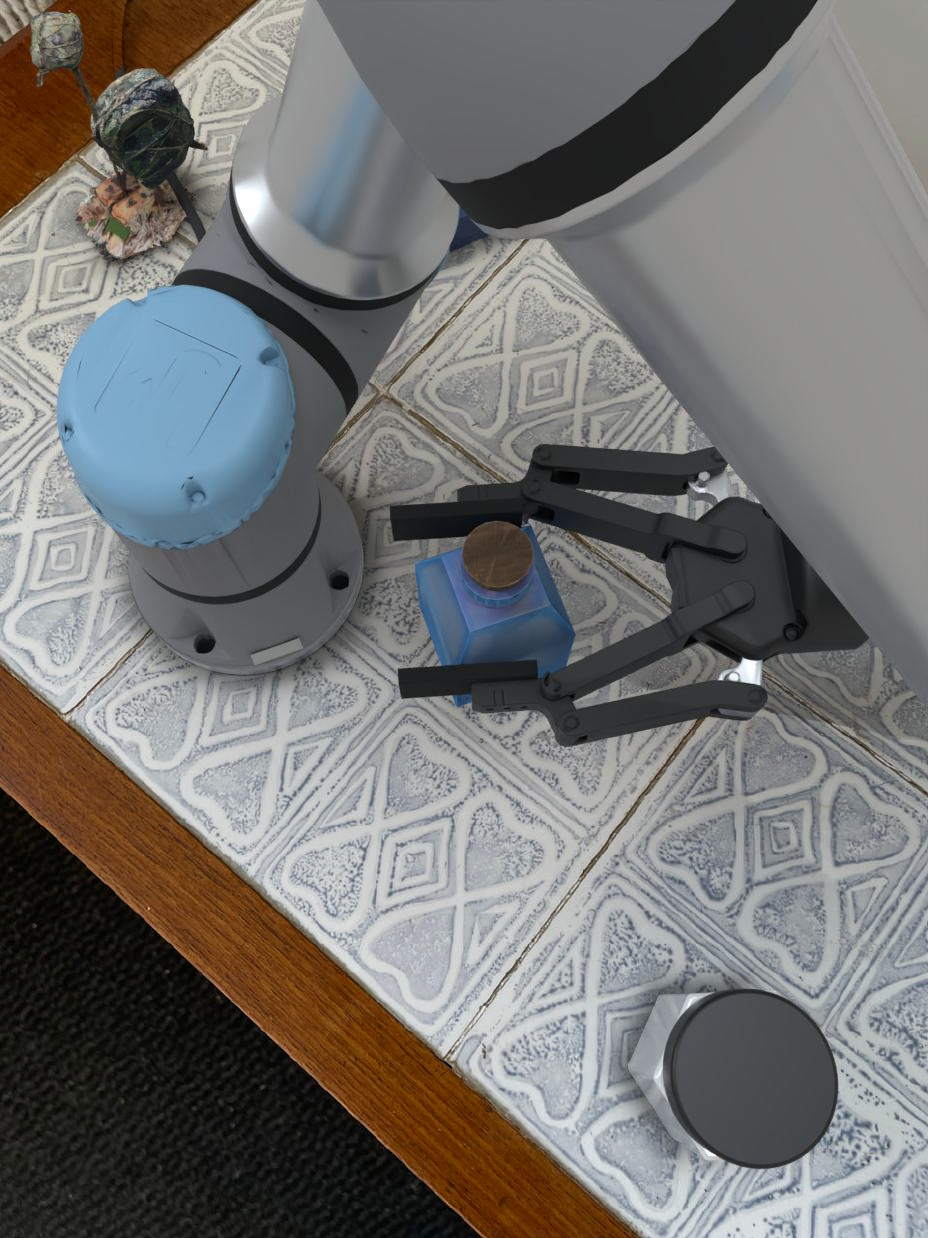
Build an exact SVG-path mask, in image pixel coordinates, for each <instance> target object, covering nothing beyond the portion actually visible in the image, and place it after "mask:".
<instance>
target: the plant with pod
mask: <svg viewBox="0 0 928 1238" xmlns="http://www.w3.org/2000/svg"><path fill="white" fill-rule="evenodd" d="M29 22H30V23H29V24H30V29H31V41H30V46H29V50H30V56H31V62H32V64H33V65H34V66H35V67H36V68H37V69H38V72H37V73H36V77H37V80H36V86H37V88H41V87H42V86H43V85H44V83H45V77H46V76H47V75H48V74H50V73H53V72H54V71H57V70H60V69H65V70H71V71H72V74H73V75H74V77H75V79H76V82H77V83H78V86H79V87H80V88H81V91H82V93H83V95H84V96H85V98H84V99H85V100H86V101H87V103H88V107H89V110H90V111H91V115H90V130H91V131H92V134H91V135H90V137H91V138H92V140H93V141H94V142H95V143H96V144H97V145H98V147H100V148H101V149H103V150H104V151H105V153H106V155H107V157H108V160H109V161H110V163H112V167H113V171H114V172H113V171H110V174H109V175H108V177H106V179H104V181H99V184H98V185H97V186H93V187H90V188H89V193H88V196H84V197H82V198H83V201H84V202H83V201H80V204H79V206H77V207H75V209H74V210H75V215H74V218H75V219H74V221H76V222H78V223H76V225H75V227H76V226H79V225H82V224H84V226H83V230H82V232H83V233H84V232H85V231H87V230H88V232H87V234H86V235H87V236H89V237H90V238H92V239H91V240H90V241H89V242H90V243H92V244H94V245H95V247H97V248H98V249H97V250H98V251H99V252H98V254H99V255H101V256H102V259H101V260H102V261H105V262H106V261H107V262H113V263H114V262H119V261H121V260H123V259H126V258H129V257H130V256H131V257H132V256H135V255H137V254H140V253H141V252H143V251H147V250H149V249H150V248H154V245H155V246H158V247H160V248H161V247H162V245H161V241H162V242H163V243H165V244H167V243H168V242H169V241H170V240H171V239H173V236H175V234H176V232H177V230H178V228H179V227H180V225H181V224H180V223H181V222H183V220H184V218H187V215H186V213H185V211H184V210H183V209H182V207H181V205H180V203H179V201H178V199H177V197H176V195H175V193H174V191H173V190H172V188H171V186H170V184H169V183H168V181H167V178H168V177H169V176H170V175H171V174H172V172H173V171H174V172H175V171H176V170H177V169H179V168H180V167H181V166H182V165H183V163H185V161H186V159H187V156H188V153H189V149H190V148H191V149H196V150H199V151H200V150H201V151H208V149H209V147H208V144H206V143H205V142H204V141H198V140H195V136H196V129H195V126H194V124H195V119H194V118H193V117H192V114H191V111H190V110H189V108H188V107H187V106H186V104H185V102H184V101H183V98H182V96H181V95H182V94H180V91H179V89H178V88H177V87H176V86H175V84H176V83H175V80H176V79H173V80H172V81H171V80H170V79H169V78H167V77H166V76H164V75H162V74H161V73H159V72H158V71H157V70H156V69H155V68H149V67H148V68H135V69H134V70H132V71H129V72H128V73H125V75H123V76H122V77H120V78H118V79H117V80H116V79H115V80H113V81H112V82H111V83H110V84H109V85H107V87H106V88H105V89H104V90H103V91H102V92H101V94H99V96H98V98H97V101H96V102H95V100H94V98H93V95H92V93H91V91H90V90H89V88H88V85H87V83H86V81H85V77H84V74H83V72H82V69H81V68H80V66H79V65H80V64H81V63H82V60H83V54H84V52H85V43H84V41H83V40H84V39H83V38H84V37H83V32H82V24H81V20H80V18H79V17H78V15H77V14H76V13H74V12H70V13H65V12H60V11H46V12H41V13H39V14H38V15H33V16H32V17H31V18H30V21H29ZM118 168H119V169H118ZM181 184H182V185H183V187H184V189H185V191H186V193H187V195H188V197H189V199H190V201H191V202H192V204H195V203H196V202H197V201H198V199H197V197H196V195H197V194H196V193H195V194H194V192H192V191H188V189H187V188H186V187H185V185H184V183H182V182H181Z"/></svg>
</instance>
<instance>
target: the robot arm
mask: <svg viewBox="0 0 928 1238" xmlns="http://www.w3.org/2000/svg"><path fill="white" fill-rule="evenodd" d="M836 1H837V0H305V1H304V5H303V10H302V13H301V18H300V22H299V25H298V30H297V33H296V37H295V41H294V45H293V49H292V53H291V57H290V62H289V65H288V69H287V74H286V78H285V81H284V84H283V89H282V92H280V93H279V94H277V95H275V96H273V97H272V98H270V99H269V100H267V101H266V102H265V103H264V104H262V105H261V106H260V107H259V108H258V109H257V110H256V111H255V112H254V114H252V116H251V118H249V119H248V121H247V123H246V124H245V126H244V128H243V130H242V132H241V133H240V136H239V139H238V141H237V144H236V146H235V150H234V154H233V159H232V162H231V163H232V164H231V169H230V174H229V179H228V183H227V188H226V193H225V197H224V200H223V203H222V205H221V208H220V209H219V212H218V213H217V215H216V216H215V219H214V220H213V222H212V224H211V225H210V226H209V228H208V230H206V229H205V226H204V224H203V222H202V219H201V217H200V215H199V213H198V212H197V210H196V208H195V206H194V203H192V202H191V201H190V199H189V197H188V195H187V193H186V191H185V189H184V187H185V186H184V187H183V185H184V184H183V183H182V182H181V180H180V178H179V177H178V175H177V174H176V172H175V170H174V171H173V172H172V174H171V175H170V176H169V177H168V178H167V181H168V183H169V184H170V186H171V188H172V190H173V191H174V193H175V195H176V197H177V199H178V201H179V203H180V205H181V207H182V209H183V210H184V211H185V213H186V215H187V216H186V218H187V220H188V222H189V224H190V226H191V228H192V230H193V232H194V234H195V237H196V240H197V242H198V244H197V245H196V247H195V248H194V250H193V251H192V252H191V254H190V255H189V257H188V258H187V260H186V261H185V263H184V264H183V266H182V267H181V268H180V270H179V271H178V272H177V274H176V275H175V277H174V279H173V281H172V282H171V284H170V285H166V286H157V287H154V288H151V289H148V290H147V291H146V294H147V295H146V296H145V297H143V298H141V299H137V300H134V301H133V300H132V299H131V298H129V297H128V298H127V297H126V298H124V299H122V300H120V301H119V302H117V303H115V304H114V305H112V306H111V307H110V308H108V309H107V310H105V311H104V312H103V313H102V314H100V316H98V317H97V318H96V319H95V320H94V321H93V322H92V323H91V324H90V325H89V326H88V327H87V329H86V330H84V332H83V333H82V335H81V336H80V337H79V339H78V340H77V341H76V343H75V345H74V347H73V349H72V350H71V353H70V354H69V355H68V358H67V360H66V362H65V364H64V367H63V370H62V374H61V377H60V381H59V384H58V388H57V398H56V424H57V430H58V436H59V439H60V443H61V446H62V450H63V452H64V455H65V458H66V460H67V463H68V464H69V465H70V467H71V470H72V471H73V474H74V476H75V480H76V483H77V485H78V487H79V489H80V491H81V493H82V495H83V496H84V499H85V500H86V501H87V503H88V504H89V506H90V507H91V508H92V510H93V511H94V512H95V513H96V514H97V515H98V516H99V518H100V519H101V520H102V521H103V522H105V523H106V524H107V526H108V527H110V528H111V530H112V531H113V533H114V534H115V535H116V536H117V537H118V538H119V540H120V541H121V542H122V544H123V545H124V546H125V548H126V549H127V550H128V554H127V555H128V557H127V571H128V581H129V586H130V591H131V594H132V598H133V600H134V602H135V605H136V608H137V609H138V611H139V614H140V616H141V617H142V619H143V620H144V622H145V623H146V624H147V626H148V627H149V628H150V629H151V631H152V632H153V633H154V635H155V636H157V638H158V639H159V641H160V642H162V643H163V644H164V646H166V647H167V648H168V650H171V652H173V653H174V654H176V655H177V656H178V657H180V658H182V659H183V660H185V661H186V662H189V663H191V664H193V665H195V666H196V667H200V668H202V669H205V670H209V671H211V672H215V673H220V674H225V675H226V674H227V675H239V676H240V675H241V676H242V675H243V676H244V675H245V676H246V675H258V674H265V673H270V672H274V671H278V670H281V669H285V668H287V667H289V666H292V665H294V664H296V663H299V662H300V661H302V660H304V659H306V658H308V657H309V656H311V655H312V654H314V653H315V652H317V651H318V650H319V649H321V648H322V647H323V646H325V644H327V643H328V642H329V641H330V640H331V639H332V638H333V637H334V636H335V635H336V633H338V631H340V629H341V627H342V626H343V625H344V623H345V622H346V620H347V619H348V618H349V616H350V614H351V612H352V611H353V608H354V607H355V604H356V602H357V599H358V596H359V593H360V591H361V588H362V587H361V586H362V582H363V576H364V563H365V561H364V560H365V558H364V549H363V544H362V543H363V541H362V538H361V533H360V529H359V525H358V522H357V518H356V515H355V514H354V511H353V509H352V507H351V506H350V504H349V502H348V501H347V499H346V497H345V496H344V494H343V493H342V492H341V491H340V489H339V488H338V487H337V486H336V485H335V484H334V483H333V482H332V481H331V480H330V479H329V478H328V477H326V476H325V475H324V474H323V473H322V472H321V471H319V470H318V467H319V465H320V463H321V462H322V460H323V458H324V456H325V455H326V454H327V451H328V450H329V448H330V447H331V445H332V443H333V442H334V440H335V438H336V437H337V435H338V433H339V431H340V429H342V426H343V425H344V423H345V421H346V420H347V418H348V416H349V415H350V413H351V412H352V410H353V408H354V406H355V405H356V403H357V402H358V400H359V398H360V396H361V395H362V393H363V392H364V390H365V388H366V387H367V385H368V383H369V382H370V380H371V378H372V377H373V375H374V373H375V372H376V370H377V368H378V367H379V365H380V364H381V362H382V361H383V359H384V357H385V356H386V354H387V352H388V351H389V349H390V347H391V345H392V344H393V342H394V340H396V337H397V335H398V334H399V332H400V331H401V329H402V327H403V325H404V324H405V322H406V321H407V319H408V317H409V316H410V315H411V312H412V311H413V309H414V307H415V306H416V304H417V303H418V301H419V299H420V298H421V296H422V295H423V293H424V292H425V290H426V288H428V286H429V285H431V283H432V282H433V281H434V280H435V278H436V277H437V275H438V274H439V273H440V271H441V269H442V268H443V266H444V264H445V262H446V260H447V258H448V256H449V253H450V252H449V251H450V245H451V242H452V240H453V238H454V235H455V233H456V229H457V226H458V221H459V210H460V207H461V208H462V210H463V211H464V212H465V213H466V214H467V216H468V217H469V218H470V219H471V220H472V221H473V222H474V223H475V224H476V225H477V226H478V227H479V228H480V229H481V230H482V231H483V232H484V233H487V234H489V235H488V236H493V237H494V238H497V239H506V240H546V241H547V242H548V243H549V245H550V246H551V247H552V248H553V250H554V251H555V252H556V253H557V255H558V256H559V257H560V258H561V259H562V261H563V262H564V264H566V266H567V267H568V268H569V269H570V271H571V272H572V273H573V274H574V275H575V277H576V278H577V279H578V281H580V283H581V284H582V285H583V287H584V288H586V290H587V291H588V293H589V294H590V295H591V296H592V297H593V299H594V300H595V301H596V303H597V304H598V305H599V306H600V308H602V310H603V311H604V312H605V314H606V315H607V316H608V317H609V318H610V320H611V321H612V323H613V324H614V325H615V326H616V327H617V328H618V330H619V331H620V332H621V333H622V334H623V336H624V337H625V338H626V339H627V341H628V342H629V343H630V344H631V346H632V347H633V348H634V350H636V352H637V353H638V355H639V356H641V359H643V360H644V362H645V363H646V364H647V366H649V368H650V370H652V371H653V373H654V374H655V375H656V377H657V378H658V379H659V380H660V381H661V383H662V384H663V385H664V386H665V387H666V389H667V390H668V392H670V394H671V396H672V397H674V399H675V400H676V401H677V402H678V403H679V405H680V406H681V408H683V410H684V411H685V412H686V413H687V415H688V417H690V418H691V420H692V421H693V422H694V423H695V424H696V426H697V427H698V428H699V430H700V431H701V432H702V433H703V435H704V436H705V437H706V438H707V439H708V440H709V442H710V443H711V445H712V446H709V447H706V448H702V449H698V450H697V449H696V450H693V451H690V452H686V453H673V452H672V453H671V452H670V453H669V452H657V451H645V450H633V449H618V448H609V447H608V448H607V447H606V448H605V447H593V446H581V445H567V444H553V443H541V444H538V445H536V446H535V448H533V449H532V454H531V458H530V461H529V465H528V468H527V472H526V474H525V476H524V477H523V478H521V479H520V480H518V481H514V482H512V481H511V482H498V483H487V484H486V483H483V484H482V483H481V484H467V485H464V486H462V487H460V488H457V489H456V498H457V499H456V501H448V502H447V501H446V502H430V503H429V502H428V503H413V504H399V505H398V504H395V505H389V520H390V527H391V535H392V540H393V542H404V541H407V542H408V541H423V540H436V539H437V540H440V539H453V538H467V537H468V535H469V534H470V533H471V532H472V531H473V530H474V529H475V528H476V527H478V526H480V525H482V524H484V523H488V522H493V521H501V522H508V523H510V524H512V525H515V526H517V527H518V528H522V525H523V523H524V524H526V525H529V524H528V523H529V520H532V521H535V522H537V523H542V524H544V525H548V526H552V527H554V528H559V529H562V530H565V531H568V532H570V533H574V534H577V535H580V536H584V537H587V538H591V539H594V540H597V541H600V542H603V543H607V544H610V545H613V546H617V547H620V548H624V549H626V550H630V551H633V552H637V553H640V554H642V555H644V556H645V558H647V559H648V560H650V561H652V562H655V563H659V564H662V565H664V570H665V577H666V580H667V583H668V584H669V587H670V589H671V598H670V605H669V608H670V614H669V615H667V616H665V617H664V618H662V619H661V620H660V621H658V622H656V623H654V624H651V625H649V626H646V627H645V628H642V629H641V630H639V631H637V632H635V633H633V634H631V635H629V636H627V637H625V638H622V639H620V640H618V641H616V642H614V643H612V644H610V645H607V646H605V647H603V648H602V649H599V650H597V651H595V652H593V653H591V654H589V655H586V656H585V657H583V658H580V659H579V660H577V661H574V662H572V663H570V664H567V665H566V667H564V668H562V669H560V670H558V671H555V672H553V673H551V674H550V672H549V671H548V672H546V673H545V674H544V676H543V678H538V667H537V660H522V661H506V662H491V663H475V664H460V665H444V666H441V665H432V666H416V667H415V666H414V667H399V668H397V681H398V683H397V684H398V688H399V693H400V698H401V700H404V699H421V698H422V699H423V698H436V697H453V695H469V694H471V700H472V703H471V710H472V712H477V713H479V714H484V715H485V714H498V713H499V714H500V713H512V712H513V713H515V712H527V711H528V712H529V711H533V712H534V711H535V712H538V713H540V714H542V715H543V716H544V717H545V718H546V719H547V722H548V723H549V725H550V728H551V730H552V732H553V734H554V735H553V736H554V740H555V741H556V742H555V743H557V744H558V745H559V746H561V747H564V748H571V747H575V746H579V745H585V744H590V743H594V742H598V741H604V740H608V739H612V738H617V737H621V736H625V735H630V734H636V733H640V732H644V731H649V730H653V729H657V728H662V727H663V728H664V727H667V726H671V725H676V724H682V723H685V722H689V721H690V722H691V721H694V720H695V721H696V720H699V719H703V718H714V719H723V720H731V721H738V722H747V721H749V720H751V719H753V718H754V716H756V715H757V714H758V713H759V712H760V711H761V710H762V709H763V708H764V707H765V706H766V704H767V703H768V700H769V696H768V691H766V689H765V688H764V686H762V683H763V682H762V681H763V664H764V663H765V662H767V661H768V660H770V659H772V658H774V657H776V656H779V655H794V654H795V655H796V654H808V653H810V654H811V653H823V652H841V651H855V650H858V649H860V648H861V647H862V646H863V645H864V644H865V643H866V644H868V645H869V646H871V647H872V648H877V649H878V650H879V651H880V653H881V654H882V655H883V656H884V657H885V659H886V660H887V661H888V662H889V663H890V665H891V666H892V667H893V668H894V670H895V671H896V672H897V673H898V675H899V676H900V677H901V678H902V680H903V681H904V682H905V684H906V685H907V686H908V687H909V688H910V690H911V691H912V692H913V693H914V694H915V696H916V697H917V698H918V699H919V701H920V702H921V703H922V704H923V706H925V708H926V709H927V710H928V194H927V192H926V189H925V188H924V186H923V184H922V182H921V180H920V178H919V176H918V174H917V173H916V170H915V169H914V167H913V165H912V163H911V161H910V159H909V157H908V155H907V153H906V151H905V150H904V148H903V145H902V144H901V141H900V140H899V138H898V136H897V134H896V132H895V129H894V128H893V126H892V123H891V122H890V120H889V118H888V117H887V114H886V113H885V111H884V109H883V106H882V104H881V103H880V101H879V99H878V97H877V95H876V93H875V91H874V89H873V88H872V85H871V84H870V82H869V80H868V78H867V76H866V74H865V71H864V70H863V68H862V66H861V64H860V62H859V60H858V58H857V56H856V55H855V52H854V51H853V49H852V47H851V45H850V43H849V41H848V39H847V37H846V35H845V33H844V31H843V29H842V27H841V25H840V24H839V21H838V19H837V18H836V16H835V14H834V12H833V9H834V7H835V5H836ZM122 66H123V65H122ZM120 68H121V69H122V70H121V69H120V70H119V71H117V73H118V74H117V73H116V74H115V73H114V78H115V80H117V79H118V78H120V77H122V76H123V75H125V74H126V71H125V65H124V66H123V68H122V67H120ZM116 75H117V76H116ZM181 183H182V184H183V185H182V184H181ZM728 465H729V466H730V468H731V469H732V470H733V471H734V473H735V474H736V475H737V476H738V478H739V479H740V480H741V482H743V484H744V485H745V486H746V487H747V489H748V490H749V491H750V493H751V494H752V495H753V496H754V497H755V499H756V500H758V502H755V501H752V500H751V499H750V500H749V499H747V498H745V497H742V496H737V493H736V490H735V489H734V486H733V484H732V480H731V478H730V475H729V473H728V470H727V468H728ZM587 491H598V492H610V493H624V494H635V495H636V494H637V495H647V496H663V497H677V496H686V495H687V496H688V498H689V499H690V500H691V501H693V502H697V501H698V502H699V501H704V502H707V503H709V504H710V505H711V506H712V507H711V508H710V509H709V510H707V511H706V512H704V513H703V514H702V515H700V517H699V518H698V519H696V520H695V519H692V518H689V517H685V516H683V515H679V514H676V513H672V512H667V511H663V512H659V513H657V512H653V511H650V510H647V509H644V508H640V507H637V506H633V505H631V504H628V503H624V502H620V501H616V500H613V499H610V498H607V497H603V496H600V495H597V494H594V493H591V492H587ZM700 643H702V644H704V645H705V646H707V647H709V648H711V649H712V650H714V651H715V652H717V653H719V654H721V655H722V656H724V657H726V658H728V659H730V660H731V661H733V662H735V663H737V665H736V667H734V668H729V669H724V670H723V671H721V672H720V673H719V674H718V676H717V677H716V678H715V680H714V679H713V680H711V679H710V680H704V681H700V682H699V681H698V682H695V683H691V684H690V683H689V684H687V685H685V684H684V685H681V686H676V687H671V688H666V689H662V690H658V691H653V692H648V693H644V694H643V693H642V694H639V695H634V696H630V697H626V698H625V697H624V698H620V699H616V700H612V701H607V702H602V703H598V704H593V705H588V706H583V707H579V708H577V707H576V706H575V703H574V702H576V701H578V700H580V699H582V698H584V697H586V696H588V695H591V694H592V693H594V692H596V691H598V690H600V689H603V688H605V687H607V686H609V685H611V684H613V683H615V682H617V681H619V680H621V679H623V678H625V677H627V676H629V675H631V674H633V673H636V672H638V671H640V670H641V669H644V668H646V667H648V666H650V665H652V664H654V663H656V662H658V661H660V660H663V659H664V658H668V657H669V658H670V657H672V656H675V655H678V654H679V653H682V652H683V651H685V650H687V649H689V648H692V647H694V646H695V645H697V644H700Z"/></svg>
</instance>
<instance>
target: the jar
mask: <svg viewBox="0 0 928 1238" xmlns="http://www.w3.org/2000/svg"><path fill="white" fill-rule="evenodd" d="M833 1053H834V1052H833V1051H832V1048H831V1046H830V1044H829V1041H828V1039H827V1037H826V1035H825V1034H824V1032H823V1031H822V1029H821V1028H820V1026H819V1025H818V1024H817V1022H815V1021H814V1019H813V1018H812V1016H810V1015H809V1013H807V1012H806V1011H805V1010H803V1008H801V1007H800V1006H799V1005H797V1004H796V1003H794V1002H793V1001H791V1000H789V999H788V998H786V997H785V996H782V995H780V993H779V992H778V991H777V990H775V989H758V988H730V989H723V990H718V991H716V990H715V991H697V992H695V991H694V992H679V993H678V992H677V993H660V994H659V995H658V996H657V998H656V1000H655V1003H654V1005H653V1007H652V1010H651V1012H650V1014H649V1016H648V1019H647V1021H646V1023H645V1026H644V1028H643V1030H642V1032H641V1035H640V1036H639V1039H638V1042H637V1044H636V1046H635V1048H634V1051H633V1053H632V1055H631V1058H630V1060H629V1062H628V1065H627V1070H628V1071H629V1073H630V1075H631V1076H632V1078H633V1080H634V1081H635V1082H636V1084H637V1085H638V1087H639V1089H640V1090H641V1091H642V1093H643V1095H644V1096H645V1098H646V1100H647V1101H648V1103H649V1104H650V1106H651V1107H652V1109H653V1111H654V1112H655V1114H656V1116H657V1117H658V1118H659V1120H660V1122H661V1123H662V1125H663V1126H664V1128H665V1129H666V1131H667V1132H668V1135H670V1137H671V1138H672V1140H675V1141H676V1142H677V1143H679V1144H681V1145H682V1146H684V1147H685V1148H687V1149H688V1150H689V1151H691V1152H693V1153H694V1154H696V1155H697V1156H699V1157H700V1158H702V1159H703V1160H705V1161H707V1162H716V1161H717V1162H718V1161H719V1162H720V1161H725V1162H727V1163H729V1164H732V1165H735V1166H738V1167H740V1168H741V1167H742V1168H746V1169H753V1170H770V1169H776V1168H780V1167H781V1168H782V1167H784V1166H787V1165H790V1164H793V1163H794V1162H796V1161H798V1160H800V1159H802V1158H803V1157H804V1156H806V1155H807V1154H809V1153H810V1152H811V1151H812V1150H814V1148H816V1146H817V1145H818V1144H819V1143H820V1141H822V1139H823V1138H824V1136H825V1135H826V1133H827V1131H828V1130H829V1128H830V1126H831V1124H832V1122H833V1119H834V1117H835V1112H836V1109H837V1104H838V1098H839V1073H838V1067H837V1064H836V1060H835V1056H834V1054H833Z"/></svg>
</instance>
